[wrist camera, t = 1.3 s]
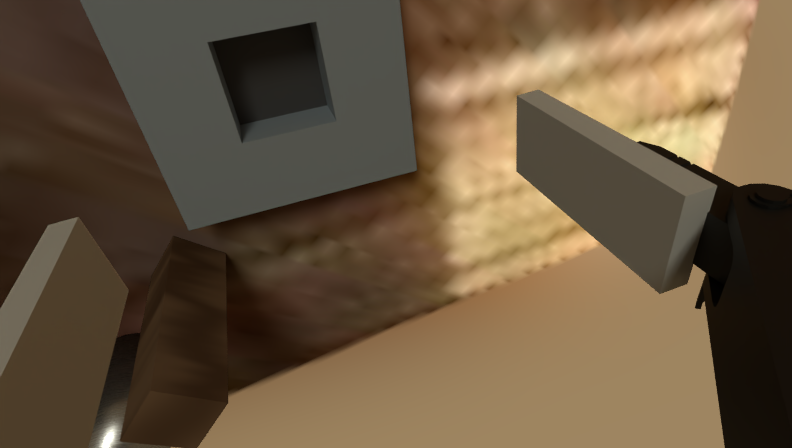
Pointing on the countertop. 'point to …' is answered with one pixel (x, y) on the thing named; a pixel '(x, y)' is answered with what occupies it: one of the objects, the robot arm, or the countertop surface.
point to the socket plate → (262, 96)
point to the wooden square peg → (180, 350)
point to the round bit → (117, 397)
